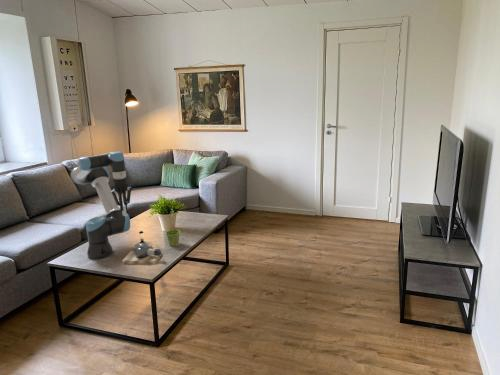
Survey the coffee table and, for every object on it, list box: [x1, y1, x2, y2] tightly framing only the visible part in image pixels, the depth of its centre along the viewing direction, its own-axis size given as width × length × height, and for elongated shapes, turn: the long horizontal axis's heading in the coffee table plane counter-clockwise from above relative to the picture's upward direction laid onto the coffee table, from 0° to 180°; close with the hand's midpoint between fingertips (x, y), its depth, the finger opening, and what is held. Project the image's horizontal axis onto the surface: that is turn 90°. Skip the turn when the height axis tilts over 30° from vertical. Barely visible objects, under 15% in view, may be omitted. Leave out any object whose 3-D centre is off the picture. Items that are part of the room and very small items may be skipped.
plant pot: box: [165, 229, 181, 247], centre depth 249 cm, size 9×9×9 cm
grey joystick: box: [134, 230, 151, 248], centre depth 244 cm, size 12×10×10 cm
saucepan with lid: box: [134, 243, 162, 258], centre depth 228 cm, size 16×8×7 cm, turn 76°
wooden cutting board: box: [121, 250, 163, 265], centre depth 231 cm, size 20×14×2 cm
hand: (124, 215), depth 229 cm, fingers closed
